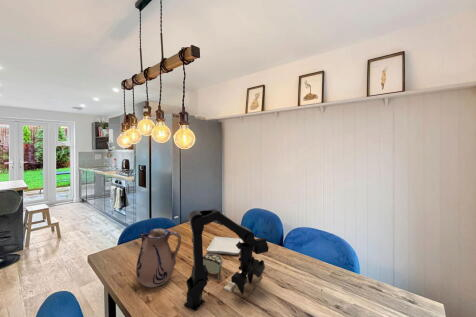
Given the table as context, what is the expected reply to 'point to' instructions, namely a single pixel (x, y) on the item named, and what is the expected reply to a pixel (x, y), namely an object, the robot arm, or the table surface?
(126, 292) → the table surface
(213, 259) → the food container
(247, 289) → the board
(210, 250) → the salad plate
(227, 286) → the ash board
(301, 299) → the table surface
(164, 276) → the ceramic pitcher
